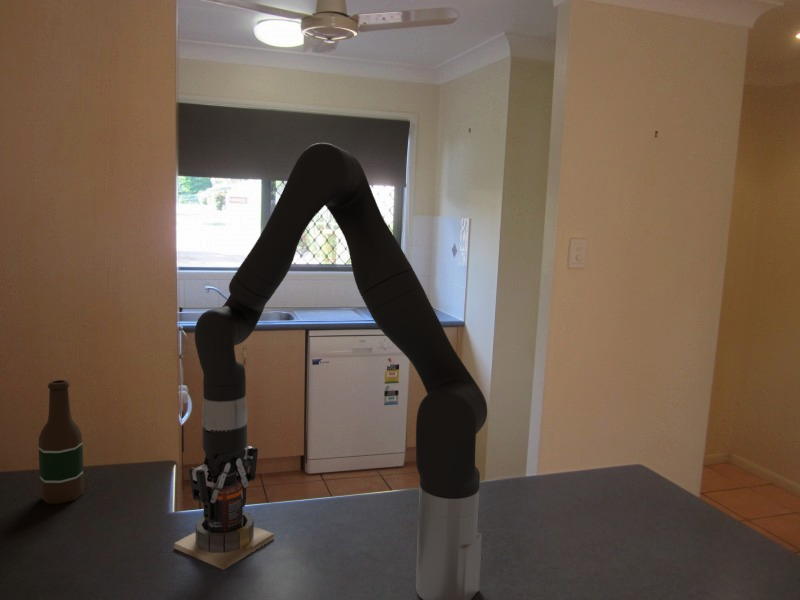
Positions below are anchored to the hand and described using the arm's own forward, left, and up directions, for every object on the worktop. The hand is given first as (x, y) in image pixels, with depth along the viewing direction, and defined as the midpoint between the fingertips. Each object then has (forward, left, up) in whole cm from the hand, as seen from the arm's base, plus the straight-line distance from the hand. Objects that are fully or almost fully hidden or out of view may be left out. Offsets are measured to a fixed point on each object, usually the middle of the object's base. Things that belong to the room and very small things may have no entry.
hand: (225, 513), depth 108 cm
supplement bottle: (0, 0, -4) cm, 4 cm away
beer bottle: (+41, +5, -6) cm, 42 cm away
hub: (0, 0, -6) cm, 6 cm away
